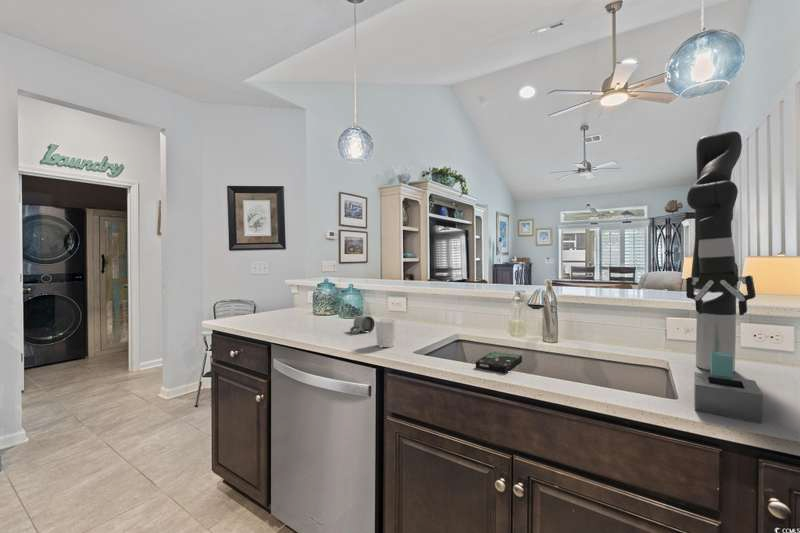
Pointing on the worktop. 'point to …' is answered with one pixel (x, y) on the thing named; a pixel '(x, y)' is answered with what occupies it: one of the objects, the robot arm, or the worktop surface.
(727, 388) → the socket block
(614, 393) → the worktop surface
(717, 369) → the teal peg
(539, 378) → the worktop surface
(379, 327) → the white cup
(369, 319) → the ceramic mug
